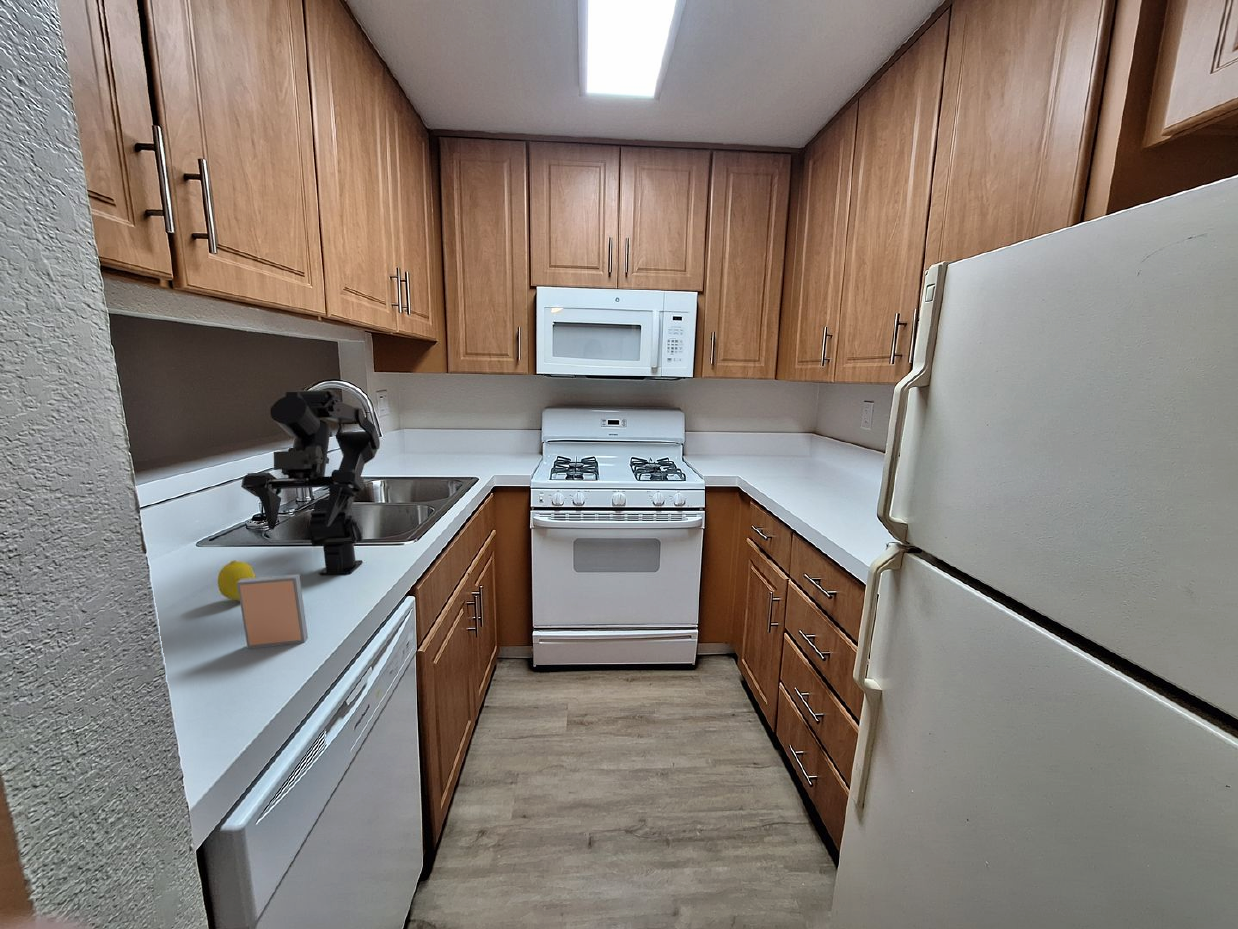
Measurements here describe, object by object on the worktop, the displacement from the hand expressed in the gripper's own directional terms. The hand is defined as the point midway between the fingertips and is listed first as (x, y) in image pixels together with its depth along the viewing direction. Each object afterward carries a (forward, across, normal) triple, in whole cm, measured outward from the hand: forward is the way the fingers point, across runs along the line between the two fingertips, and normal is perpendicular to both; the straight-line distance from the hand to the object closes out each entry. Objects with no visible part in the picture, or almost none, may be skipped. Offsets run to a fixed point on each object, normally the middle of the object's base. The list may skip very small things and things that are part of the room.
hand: (299, 527), depth 89 cm
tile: (+20, +1, -3) cm, 20 cm away
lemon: (+10, -13, +11) cm, 20 cm away
